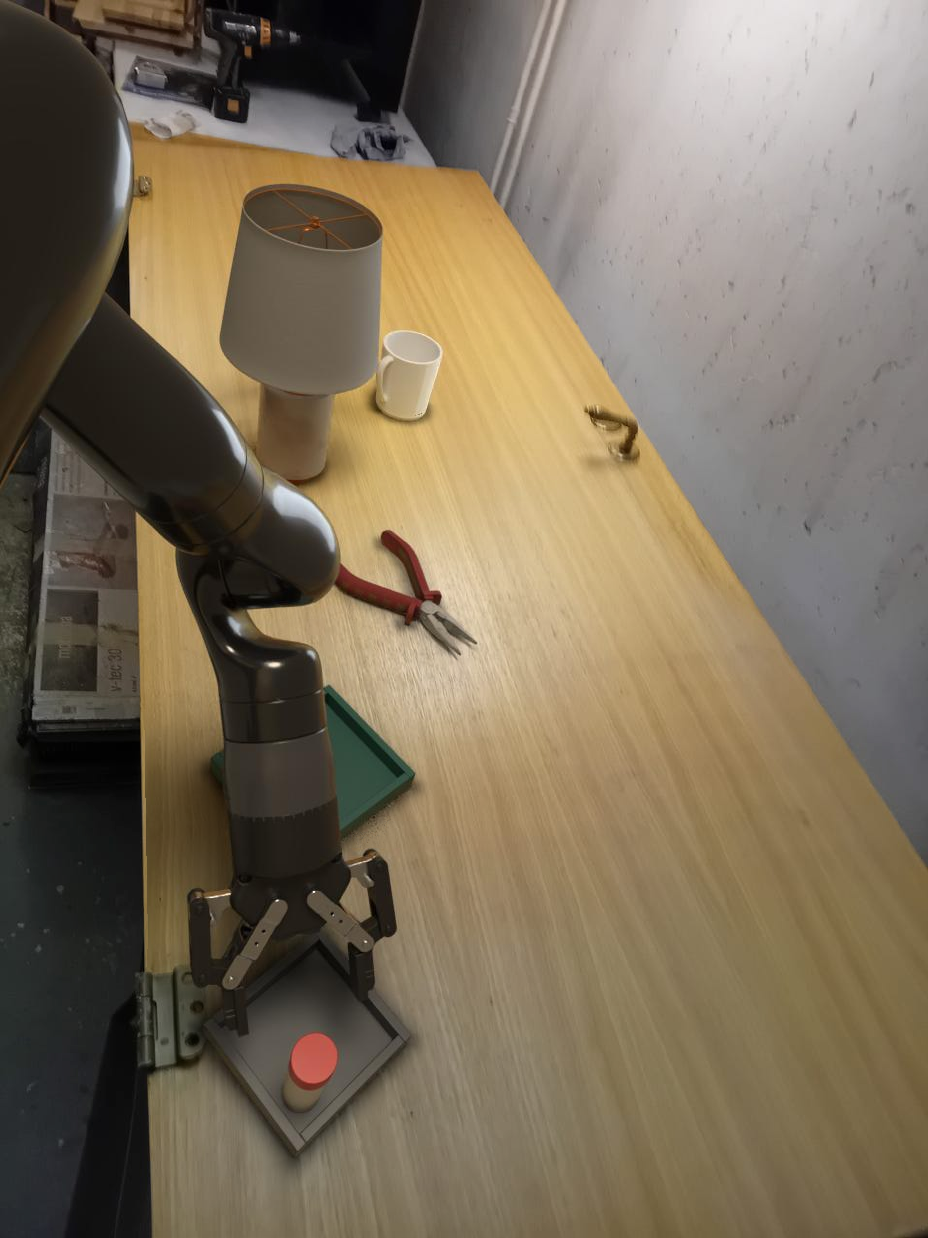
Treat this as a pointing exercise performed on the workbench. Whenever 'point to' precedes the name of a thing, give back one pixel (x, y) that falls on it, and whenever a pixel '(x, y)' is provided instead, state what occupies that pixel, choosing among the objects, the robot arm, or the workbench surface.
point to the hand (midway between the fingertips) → (302, 1012)
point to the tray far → (355, 765)
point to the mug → (406, 374)
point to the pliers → (413, 607)
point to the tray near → (296, 1006)
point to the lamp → (302, 315)
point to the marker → (308, 1071)
